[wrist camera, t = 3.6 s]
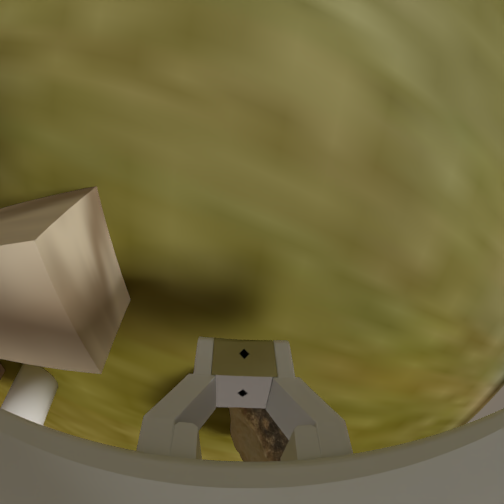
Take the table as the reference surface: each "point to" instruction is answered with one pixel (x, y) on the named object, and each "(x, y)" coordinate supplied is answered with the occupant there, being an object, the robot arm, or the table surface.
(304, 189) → the table surface
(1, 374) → the brown wooden bar
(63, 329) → the maple block
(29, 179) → the table surface
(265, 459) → the rock
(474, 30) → the table surface
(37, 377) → the salt shaker
